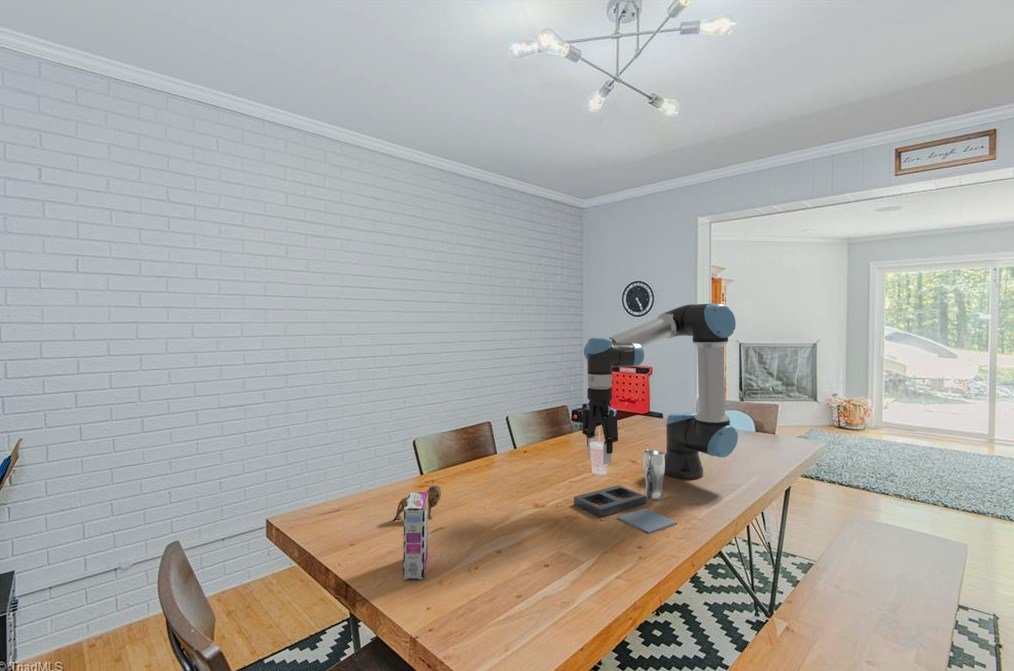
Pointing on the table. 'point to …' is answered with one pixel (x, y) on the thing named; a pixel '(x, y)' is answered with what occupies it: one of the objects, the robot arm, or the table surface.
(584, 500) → the dark grey slotted frame
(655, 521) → the slate mat
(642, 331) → the robot arm
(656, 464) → the silver metal tumbler
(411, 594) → the table surface
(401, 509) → the lion figurine
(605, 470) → the beverage cup
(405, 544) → the candy bar box
